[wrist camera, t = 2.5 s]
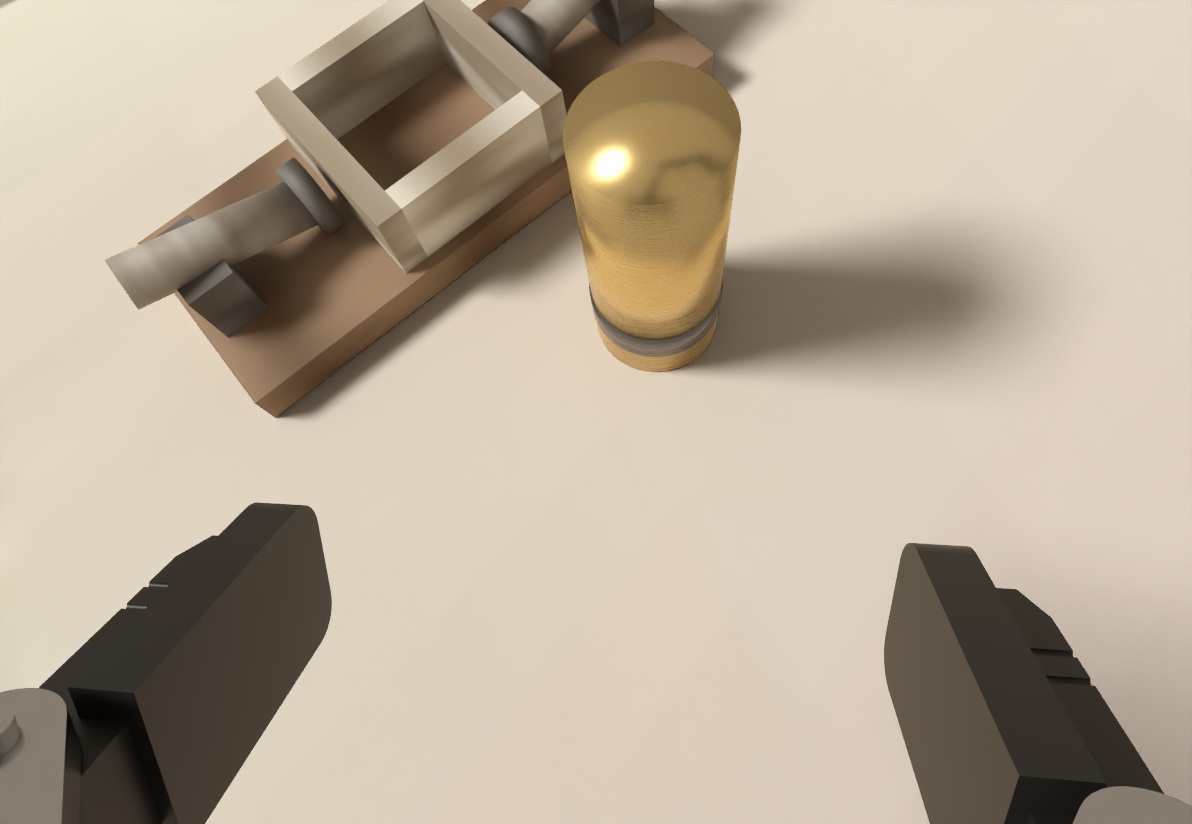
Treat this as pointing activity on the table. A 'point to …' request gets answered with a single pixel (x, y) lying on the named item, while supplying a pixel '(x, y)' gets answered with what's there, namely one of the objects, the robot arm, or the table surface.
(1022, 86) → the table surface
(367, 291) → the shaft rig
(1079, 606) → the table surface
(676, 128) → the ball
